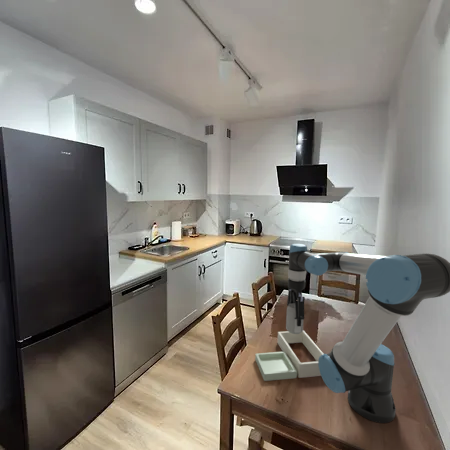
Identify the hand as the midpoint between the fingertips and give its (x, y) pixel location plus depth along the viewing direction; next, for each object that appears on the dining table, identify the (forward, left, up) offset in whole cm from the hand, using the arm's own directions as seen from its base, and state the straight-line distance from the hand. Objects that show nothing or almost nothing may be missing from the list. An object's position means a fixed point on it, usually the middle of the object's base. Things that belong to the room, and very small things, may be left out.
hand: (294, 327), depth 118 cm
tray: (-4, +10, -16) cm, 20 cm away
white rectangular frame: (+2, -5, -16) cm, 17 cm away
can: (0, 0, -2) cm, 2 cm away
